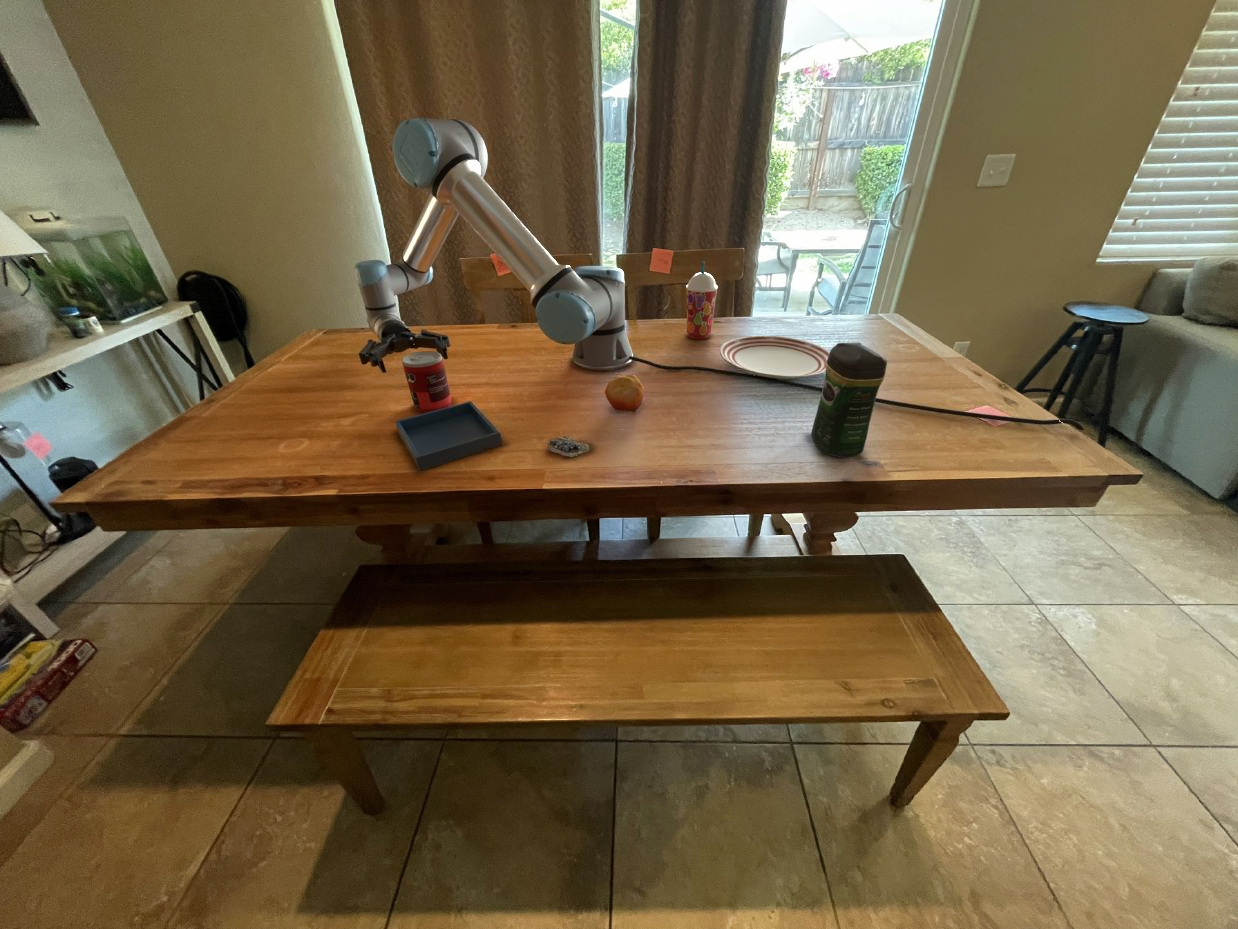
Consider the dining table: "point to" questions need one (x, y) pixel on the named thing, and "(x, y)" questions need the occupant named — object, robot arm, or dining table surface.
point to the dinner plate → (775, 356)
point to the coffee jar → (847, 399)
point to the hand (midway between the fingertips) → (414, 359)
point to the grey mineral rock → (567, 447)
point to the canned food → (427, 380)
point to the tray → (447, 434)
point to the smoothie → (700, 304)
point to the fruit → (625, 393)
